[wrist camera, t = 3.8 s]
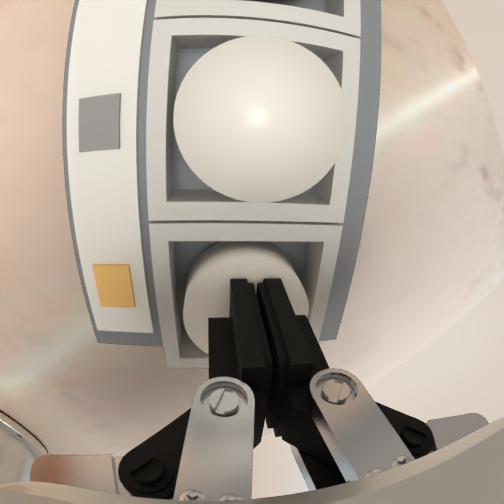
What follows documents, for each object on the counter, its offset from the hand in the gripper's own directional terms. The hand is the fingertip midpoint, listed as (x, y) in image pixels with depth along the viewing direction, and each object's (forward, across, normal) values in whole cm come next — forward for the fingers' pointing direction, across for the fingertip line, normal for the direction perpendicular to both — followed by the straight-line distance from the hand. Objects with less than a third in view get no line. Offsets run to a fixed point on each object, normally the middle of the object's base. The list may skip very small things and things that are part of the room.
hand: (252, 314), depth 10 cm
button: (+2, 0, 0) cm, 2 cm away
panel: (+5, +1, -6) cm, 8 cm away
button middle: (+1, 0, -6) cm, 6 cm away
